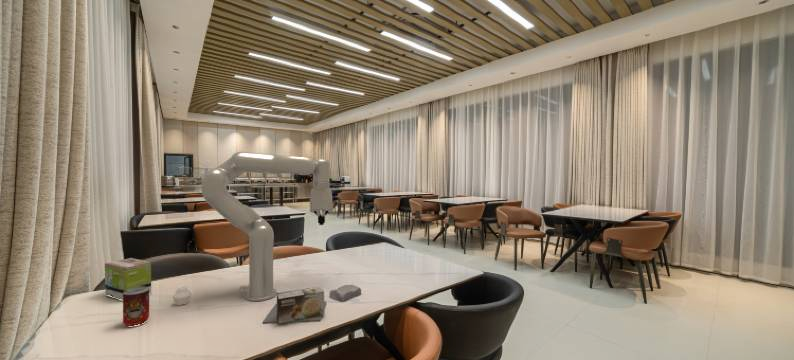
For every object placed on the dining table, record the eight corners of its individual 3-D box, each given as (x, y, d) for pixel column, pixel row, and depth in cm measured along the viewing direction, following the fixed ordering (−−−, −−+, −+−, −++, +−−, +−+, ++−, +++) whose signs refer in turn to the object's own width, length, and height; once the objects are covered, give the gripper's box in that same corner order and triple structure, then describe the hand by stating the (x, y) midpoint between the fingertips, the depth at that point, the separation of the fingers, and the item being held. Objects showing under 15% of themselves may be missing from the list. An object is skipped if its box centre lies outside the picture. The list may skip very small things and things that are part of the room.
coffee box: (320, 285, 119) (276, 291, 112) (324, 291, 113) (278, 298, 106) (320, 309, 119) (276, 317, 112) (324, 315, 113) (278, 324, 106)
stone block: (327, 302, 131) (343, 303, 126) (326, 290, 132) (342, 291, 126) (347, 294, 141) (363, 295, 135) (346, 283, 142) (362, 284, 136)
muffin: (171, 304, 124) (171, 286, 124) (188, 299, 128) (188, 283, 128) (174, 308, 120) (174, 290, 120) (193, 303, 124) (192, 286, 124)
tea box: (104, 297, 131) (103, 262, 130) (131, 289, 140) (131, 257, 140) (124, 303, 125) (124, 266, 125) (152, 294, 134) (152, 260, 134)
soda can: (123, 330, 103) (123, 294, 103) (122, 323, 108) (122, 288, 108) (150, 324, 107) (150, 289, 107) (148, 317, 113) (148, 283, 112)
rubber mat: (262, 323, 108) (262, 321, 108) (276, 304, 124) (276, 303, 124) (320, 321, 110) (320, 319, 110) (326, 302, 126) (326, 301, 126)
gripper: (303, 186, 140) (303, 226, 140) (336, 186, 141) (336, 225, 141) (306, 185, 147) (306, 223, 148) (338, 185, 149) (338, 223, 149)
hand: (321, 224), depth 144 cm, fingers closed
